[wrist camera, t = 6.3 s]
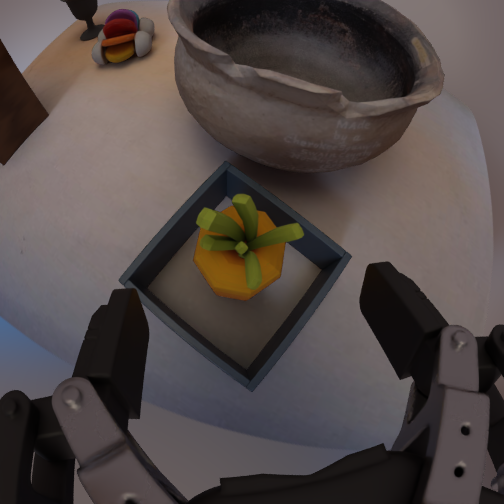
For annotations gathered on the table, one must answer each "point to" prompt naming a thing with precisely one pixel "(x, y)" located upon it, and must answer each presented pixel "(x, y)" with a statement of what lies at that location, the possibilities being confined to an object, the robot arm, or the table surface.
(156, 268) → the square storage tray
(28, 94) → the block
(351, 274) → the table surface
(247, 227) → the carrot
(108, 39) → the rainbow cloud toy
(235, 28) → the ceramic bowl
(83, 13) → the sundae
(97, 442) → the robot arm
